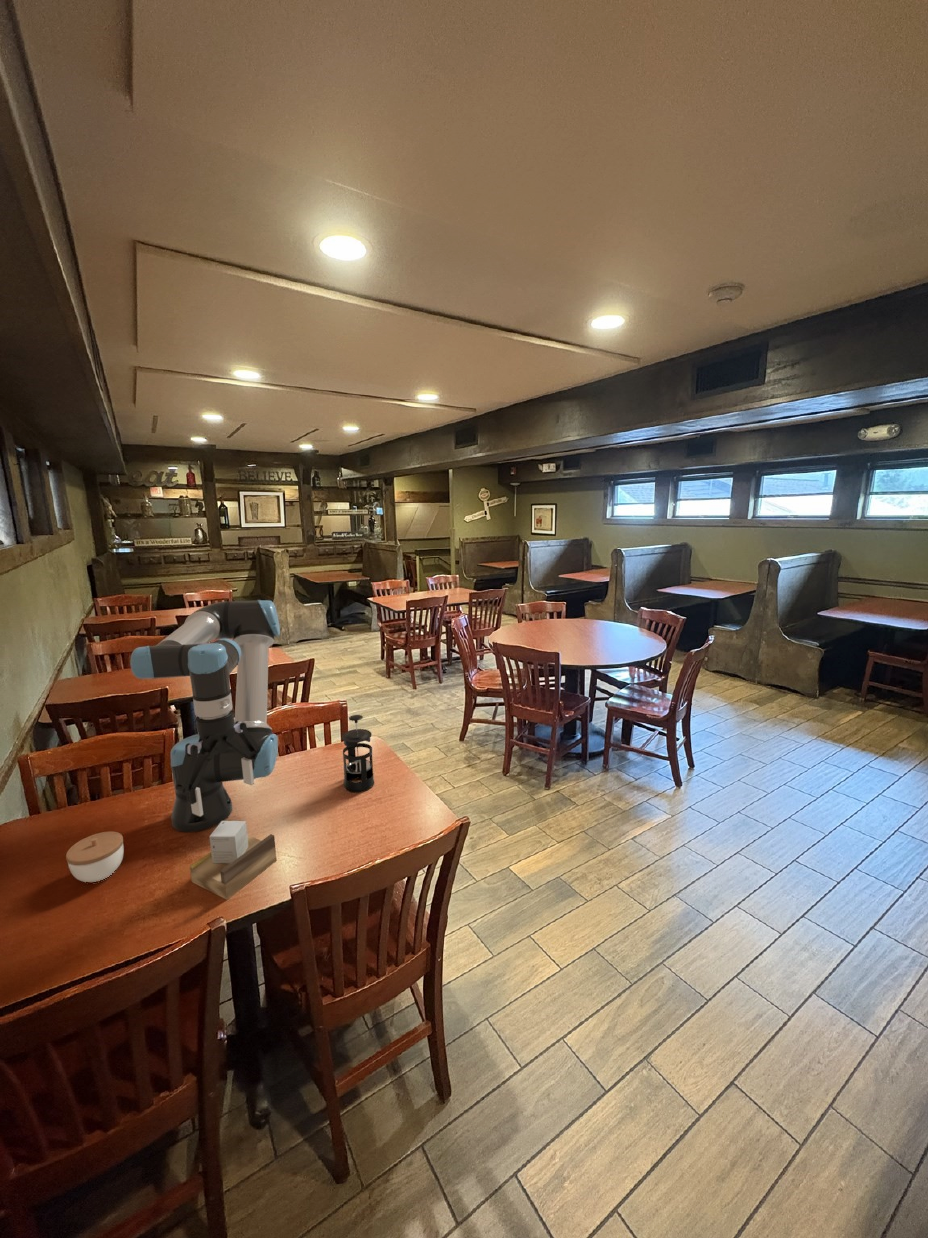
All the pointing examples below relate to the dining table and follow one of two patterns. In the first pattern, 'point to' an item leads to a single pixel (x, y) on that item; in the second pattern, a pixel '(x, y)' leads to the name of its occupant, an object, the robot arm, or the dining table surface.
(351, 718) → the french press
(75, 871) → the lidded jar
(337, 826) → the dining table surface
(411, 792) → the dining table surface
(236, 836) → the product box
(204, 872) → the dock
